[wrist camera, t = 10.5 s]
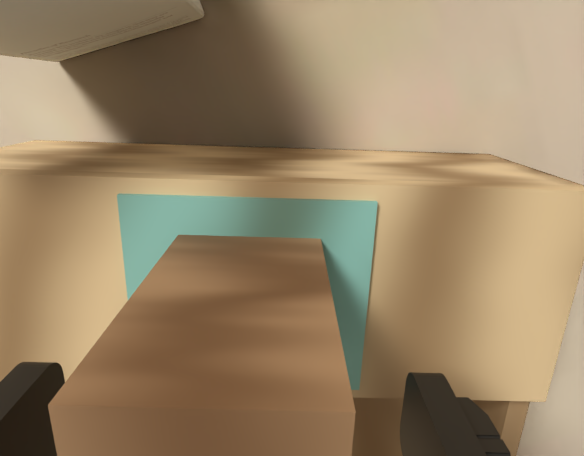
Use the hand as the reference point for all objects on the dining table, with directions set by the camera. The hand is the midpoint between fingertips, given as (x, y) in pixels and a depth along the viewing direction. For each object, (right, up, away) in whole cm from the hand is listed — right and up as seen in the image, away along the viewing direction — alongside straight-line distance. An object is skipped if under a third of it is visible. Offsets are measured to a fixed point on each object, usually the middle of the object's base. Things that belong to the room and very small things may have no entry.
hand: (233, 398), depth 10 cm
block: (0, +2, +4) cm, 5 cm away
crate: (0, -2, +14) cm, 14 cm away
